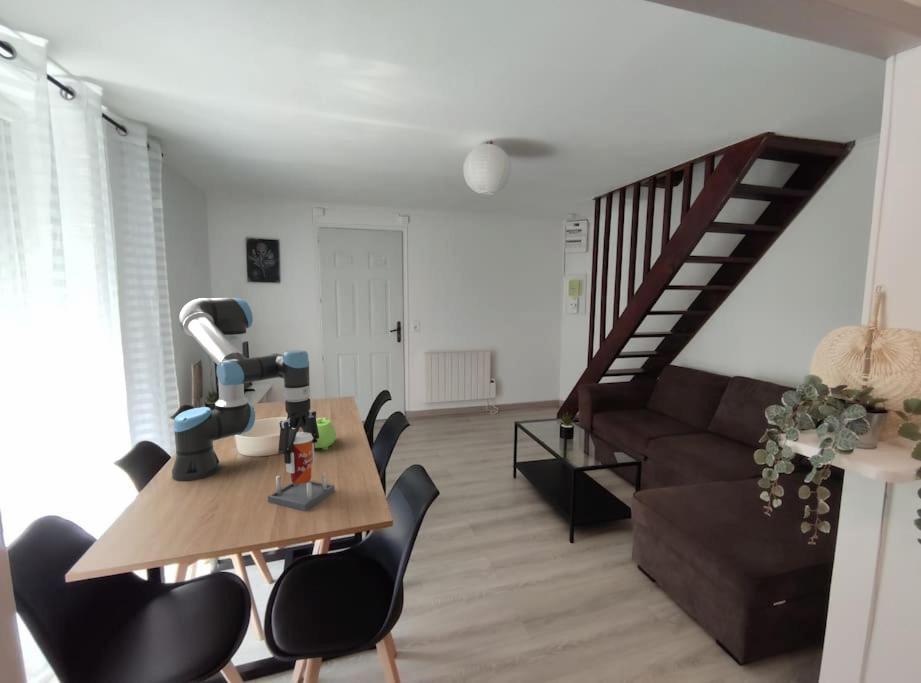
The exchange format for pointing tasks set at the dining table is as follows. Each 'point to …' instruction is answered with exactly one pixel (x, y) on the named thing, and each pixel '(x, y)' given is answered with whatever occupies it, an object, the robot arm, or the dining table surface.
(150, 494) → the dining table surface
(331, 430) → the teapot
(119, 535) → the dining table surface
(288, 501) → the tray
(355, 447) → the dining table surface
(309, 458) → the coffee cup
